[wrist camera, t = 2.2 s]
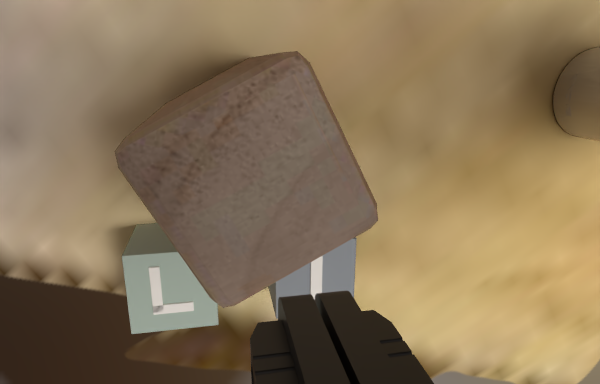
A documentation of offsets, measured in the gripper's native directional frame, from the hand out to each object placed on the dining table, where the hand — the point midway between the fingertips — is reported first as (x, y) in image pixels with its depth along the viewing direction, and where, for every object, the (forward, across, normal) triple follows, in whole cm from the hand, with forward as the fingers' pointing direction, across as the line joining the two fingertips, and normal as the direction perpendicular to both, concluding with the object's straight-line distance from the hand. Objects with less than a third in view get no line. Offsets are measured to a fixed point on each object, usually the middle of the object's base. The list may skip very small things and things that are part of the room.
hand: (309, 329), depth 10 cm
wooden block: (+31, 0, 0) cm, 31 cm away
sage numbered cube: (+31, +6, +12) cm, 34 cm away
